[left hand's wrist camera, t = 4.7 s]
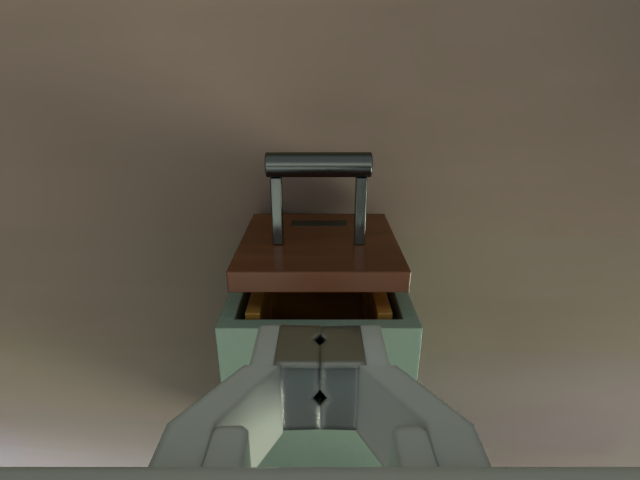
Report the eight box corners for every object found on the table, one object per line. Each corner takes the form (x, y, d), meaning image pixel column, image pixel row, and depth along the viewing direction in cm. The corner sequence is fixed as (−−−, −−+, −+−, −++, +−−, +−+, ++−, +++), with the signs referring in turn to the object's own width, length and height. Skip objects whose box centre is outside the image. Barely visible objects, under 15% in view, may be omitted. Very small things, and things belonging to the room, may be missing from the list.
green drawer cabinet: (249, 244, 31) (214, 328, 21) (388, 243, 31) (422, 328, 21) (261, 421, 38) (239, 553, 27) (376, 421, 38) (398, 552, 27)
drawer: (248, 138, 27) (215, 166, 19) (388, 137, 27) (421, 166, 19) (264, 394, 35) (247, 498, 27) (373, 394, 35) (391, 498, 27)
